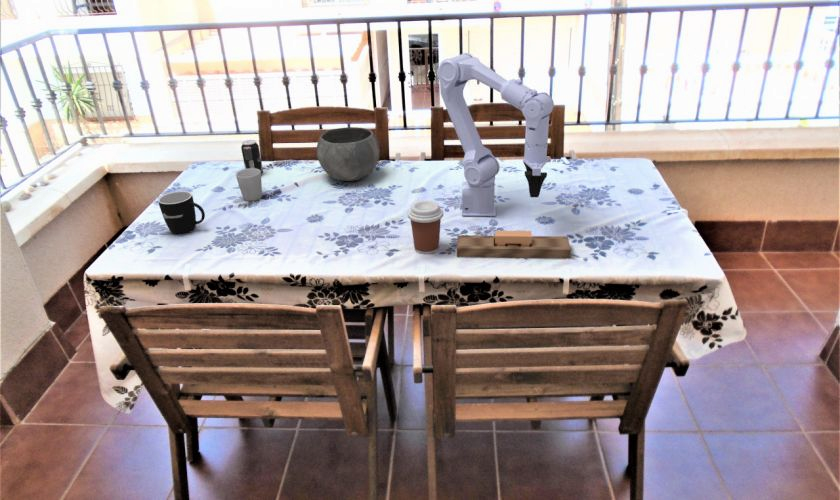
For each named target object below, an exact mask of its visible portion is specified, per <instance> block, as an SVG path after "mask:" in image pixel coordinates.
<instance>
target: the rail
mask: <svg viewBox="0 0 840 500" xmlns="http://www.w3.org/2000/svg"><path fill="white" fill-rule="evenodd" d="M571 252H572V249H571V245H570V240H569V237H568V236H561V235H560V236H551V235H549V236H546V235H532V244H529V247H520V244H516V243H505V246H497V243H495V235H463V234H462V235H461V234H460V235H457V242H456V258H496V259H497V258H501V259H502V258H505V259H510V258H511V259H514V258H515V259H566V258H570V259H571Z"/></svg>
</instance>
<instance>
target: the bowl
mask: <svg viewBox="0 0 840 500" xmlns="http://www.w3.org/2000/svg"><path fill="white" fill-rule="evenodd" d="M380 152H381V151H380V146H379V141H378V139H377V137H376V135H375V133H374V132H373V131H372V130H370V129H369V128H365V127H359V126H358V127H356V126H355V127H354V126H352V127H349V126H348V127H339V128H333V129H329V130H326V131H325V132H323V133H322V134H321V135H320V136H319V138H318V140H317V145H316V155H317V156H316V157H317V160H318V163H319V164H320V167H321V168H322V170H323V171H324V172H325V173H326V174H327V175H328V176H330V177H331V178H333V179H334V180H337V181H342V182H354V181H358V180H361V179H363V178H365V177H367V176H368V175H369V174H370V173H372V172H373V171H374V169H375V168H376V166H377V164H378V161H379V159H380Z"/></svg>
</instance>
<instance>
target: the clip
mask: <svg viewBox="0 0 840 500" xmlns="http://www.w3.org/2000/svg"><path fill="white" fill-rule="evenodd" d="M494 236H495V243H497V246H505V243H516V244H520V247H529V244H532V236H533V235H532V231H531V230H494Z"/></svg>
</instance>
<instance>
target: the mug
mask: <svg viewBox="0 0 840 500" xmlns="http://www.w3.org/2000/svg"><path fill="white" fill-rule="evenodd" d="M158 206H159V208H160V211H161V214H162V217H163V220H164V222H165V224H166V227H167V228H168V230H169V231H170V233H172V234H173V235H176V234H182V235H187V234H189V232H190V233H191V231H192V232H193V231H194V230H195V228H196V226H197V225H199V224H202V222H203V221H204V220H205V218H206V213H205V209H204V208H203V207H202V206H201V205H200V204H199V203H196V202H194V196H193V194H192V192H189V191H186V190H185V191H184V190H181V191H179V190H177V191H171V192H168V193H165V194H163V195H162V196H160V197H158ZM196 208H197V209H198V210H199V211H200V213H201V218H200V220H197V216H196ZM186 233H187V234H186Z"/></svg>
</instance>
